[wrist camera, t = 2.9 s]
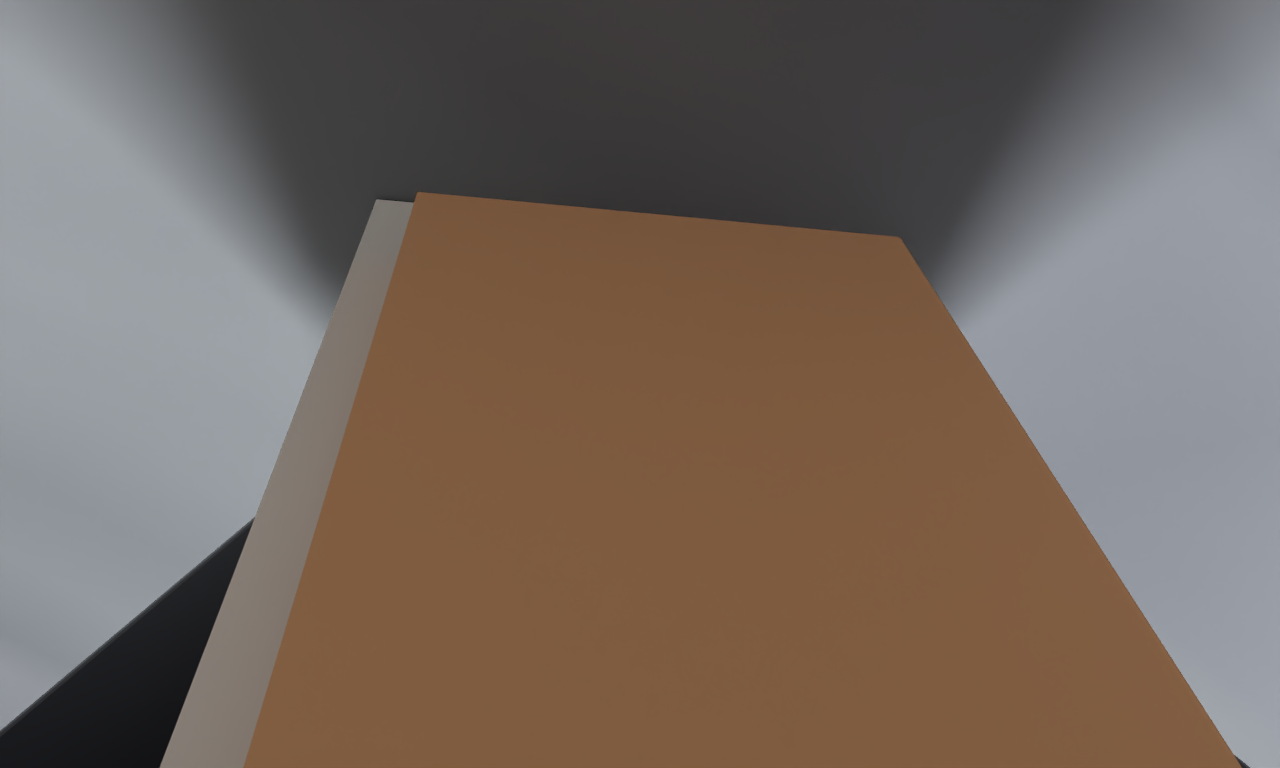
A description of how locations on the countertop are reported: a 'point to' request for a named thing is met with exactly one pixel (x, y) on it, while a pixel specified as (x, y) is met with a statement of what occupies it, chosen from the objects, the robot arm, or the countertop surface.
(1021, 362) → the countertop surface
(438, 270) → the pale upright block
